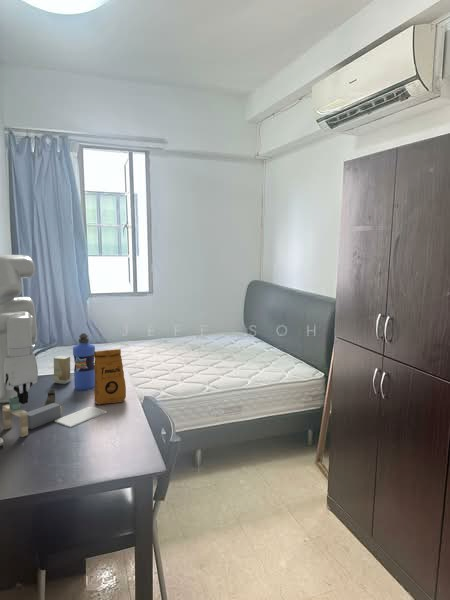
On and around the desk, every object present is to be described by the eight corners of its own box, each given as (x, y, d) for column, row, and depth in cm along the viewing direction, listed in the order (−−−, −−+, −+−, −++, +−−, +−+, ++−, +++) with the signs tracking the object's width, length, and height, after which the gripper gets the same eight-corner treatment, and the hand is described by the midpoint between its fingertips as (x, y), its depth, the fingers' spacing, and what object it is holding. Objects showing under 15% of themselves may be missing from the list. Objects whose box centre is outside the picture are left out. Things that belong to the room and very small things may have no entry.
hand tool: (53, 415, 154) (52, 403, 154) (41, 416, 153) (41, 404, 153) (60, 397, 172) (59, 387, 172) (49, 398, 171) (49, 387, 171)
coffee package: (127, 403, 166) (126, 351, 163) (95, 407, 162) (93, 354, 159) (124, 395, 175) (123, 345, 172) (93, 399, 171) (92, 348, 168)
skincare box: (53, 383, 190) (52, 357, 188) (58, 380, 194) (57, 355, 192) (66, 384, 189) (65, 358, 187) (71, 381, 193) (70, 356, 191)
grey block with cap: (24, 426, 144) (23, 413, 144) (56, 414, 155) (56, 401, 155) (31, 429, 142) (30, 416, 141) (63, 416, 153) (62, 404, 152)
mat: (54, 421, 148) (54, 420, 148) (90, 407, 162) (90, 406, 162) (70, 427, 143) (70, 426, 143) (105, 412, 157) (105, 411, 157)
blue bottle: (80, 383, 189) (78, 331, 186) (99, 384, 188) (98, 332, 185) (70, 390, 180) (68, 335, 177) (90, 391, 179) (88, 336, 176)
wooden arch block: (3, 428, 142) (1, 395, 140) (9, 426, 143) (7, 393, 142) (22, 437, 136) (20, 402, 134) (28, 434, 137) (26, 400, 136)
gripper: (34, 345, 147) (36, 394, 149) (-8, 354, 134) (-5, 407, 137) (46, 348, 143) (49, 398, 145) (4, 357, 130) (8, 412, 133)
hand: (23, 402), depth 141 cm, fingers closed
